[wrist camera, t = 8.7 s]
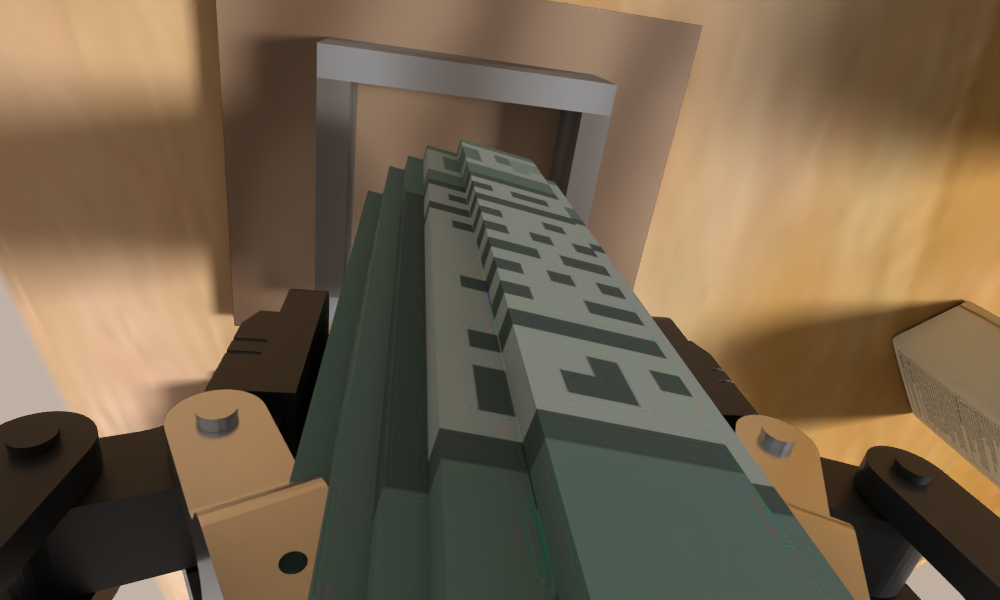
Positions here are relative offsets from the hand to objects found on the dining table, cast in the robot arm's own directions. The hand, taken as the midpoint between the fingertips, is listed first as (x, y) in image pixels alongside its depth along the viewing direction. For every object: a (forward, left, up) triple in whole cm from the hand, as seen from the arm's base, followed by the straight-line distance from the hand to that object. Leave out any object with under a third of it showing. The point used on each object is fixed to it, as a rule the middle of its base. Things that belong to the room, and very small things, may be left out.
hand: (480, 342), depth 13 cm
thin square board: (0, 0, -14) cm, 14 cm away
